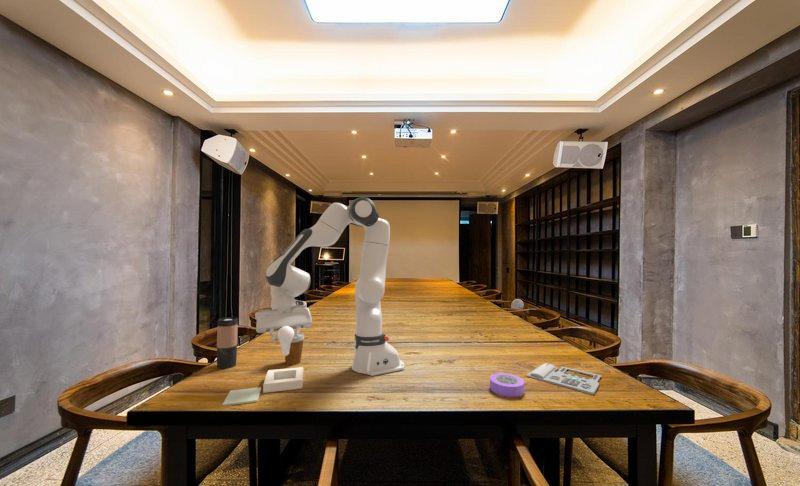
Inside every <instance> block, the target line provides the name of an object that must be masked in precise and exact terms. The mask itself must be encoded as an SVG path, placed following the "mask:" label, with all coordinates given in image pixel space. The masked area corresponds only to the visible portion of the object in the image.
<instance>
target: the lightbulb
mask: <svg viewBox="0 0 800 486" xmlns="http://www.w3.org/2000/svg"><path fill="white" fill-rule="evenodd" d="M294 330H295V329H292V328H291V327H289V326H284V327H282V328H280V329H279V331H277V333H276V335H277V337H278V342H279V344H280V349H281V355H282V356H284V357H285V356H287V355H288V354H289V349H290V344H291V341H292V339H293V337H294V333H295V331H294Z"/></svg>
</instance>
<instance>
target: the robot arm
mask: <svg viewBox="0 0 800 486" xmlns="http://www.w3.org/2000/svg"><path fill="white" fill-rule="evenodd" d="M348 225H353V226H357V227H363V229H364V239H363V244H362V249H361V250H362V251H361V257H360V267H359V269H360V270H359V277H358V279H357V280H356V281H355V285H354V289H355V290H354V293H355V295H354V296H355V300H354V301H355V334H354V342H353V344H354V356H353V359H352V360H353V361H352V365H351V367H350V368H351V370H352V371H354V372H356V373H358V374H365V375H368V376H370V377H372V376H373V377H374V376H378V375H383V374H390V373H395V372H398V371H403V370H405V368H406V367H405V366H406V365H405V363H404V361H403V360H402V359H400V355H399V352H398V351H397V349H396V348H395V347H393V346H392V345H391V344H390V343H388V342H389V340H390V337H389V336H388V335H387V334H385V333H383V332H382V331H383V329H382V328H383V314H382V313H383V312H382V307H381V305H382V304H381V300H382V299H383V298H384V295H385V287H386V278H387V277H386V276H387V275H386V274H387V261H388V255H389V250H390V249H389V247H390V242H391V241H390V240H391V239H390V238H391V225H390V223H389V222H388V220H387V219H384V218H380V216H379V212H378V210H377V207H376V204H375V203H374V201H373V200H371V199H370V198H369V197H365V196H362V197H358V198H356V199H354V200H353V201H352V202H351V204H350V205H345V204H343V203H340V202H332V203H331V204H330V205H329V206H328V207H327V208H326V209H325V210H324V212H323V213H322V215H321V216H320V217H319V219H318V220H317V222H316V223H315V224H314V225H313V226H311V227H310V228H304V229H303V230H302V231H301V232H299V234H298V235H297V236H296V237H295V238H294V239H293V240H292V241H291V242H290V243H289V245H288V246H287V247H286V248H285V249H284V250H283V251H282V253H280V254H279V256H278V257H277V258H276V259H274V260H273V261H272V262H271V263H270V264H269V265H268V266H267V268H266V270H265V273H264V275H265V280H266V282H267V283H268V285H270V298H271V302H270V304H271V305H270V306H271V307H270V308H269V309H259V310H258V311H256V312H255V314H254V319H255V320H256V325H255V326H256V327H255V331H256V332H257V333H258V334H262V333H263V334H264V333H269V335H270V336H271V338H272V341H273V342H277V341H278V342H279V340H278V337H277V334H276V333H275V332H278V331H279V329H280V328H282V327H284V326H289V327H291V328H292V329H293V330H295V331H296V332H295V331H294V339H296V338H298V337H299V335H298V334H299V333H301V332H300V331H301V329H307V328H308V329H309V328H311V326H312V325H313V319H312V315H311V311H310V309H309V308H308V307H307V302H306V301H304V300H298V299H295V298H297V297H299V296H300V295H303V294H304V293H305V292H307V291H308V290H309V289H310V286H311V283H312V282H311V281H312V280H311V275H310V273H309V272H306V271H305V270H302V269H301V268H298V267H296V266H294V265H292V263H293V262H294V261H295V259H296V258H298V256H299V255H300V254H301V252H302V251H303V250H305V249H307V248H309V247H320V248H327V247H331V246H332V245H335V244H336V242H338V240H339V239H340V237H341V235H342V234H343V232H344V230H345V229H346V228H347V226H348Z"/></svg>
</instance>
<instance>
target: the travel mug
mask: <svg viewBox="0 0 800 486" xmlns="http://www.w3.org/2000/svg"><path fill="white" fill-rule="evenodd" d="M238 320H239V319H238V317H236V316H229V317H228V316H227V317H221V318H219V319H218V320H217V328H216V330H217V331H216V333H217V334H216V368H217V369H219V370H226V369H231V368H234V367H236V366H237V359H238V358H237V354H238V326H239V325H238Z"/></svg>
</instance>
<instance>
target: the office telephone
mask: <svg viewBox="0 0 800 486" xmlns="http://www.w3.org/2000/svg"><path fill="white" fill-rule="evenodd" d="M557 369H558V367H557V366H555V365H554V364H551V363H549V362H548V363H547V362H546V363H542V364H540V365H539V366H538V367H536V368H534V369H533V370H532V371H531V370H530V372H528V373H527V374H526V377H527V378H530V377H531V379H534V380H537V381H541V382H545V383H547V384H548V383H549V384H553V385H557V386H559V387H563V388H567V389H571V390H574V391H578V392H581V393H584V394H588V395H592V396H594V395H595V394H596V392H597V390H598V389H599V386H600V383H599V382H600V380H601V379H602V378H603V376H602V375H600V374H597V373H592V372H587V371H584V370H583V371H582V370H578V369H576V368H569V367H566V366H561V368H559V370H557ZM556 370H557V371H556ZM567 370H569V371H567ZM555 371H556V372H555ZM572 371H574V372H573V373H576V372H578V373H577V374H580V373H583V374H582V375H584V374H586V375H585V376H589V375H590V377H591V378H589V377H585V376H584V377H583V376H581V375H576V374H572V373H568V372H572ZM592 376H593V377H592ZM600 378H601V379H600Z"/></svg>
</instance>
